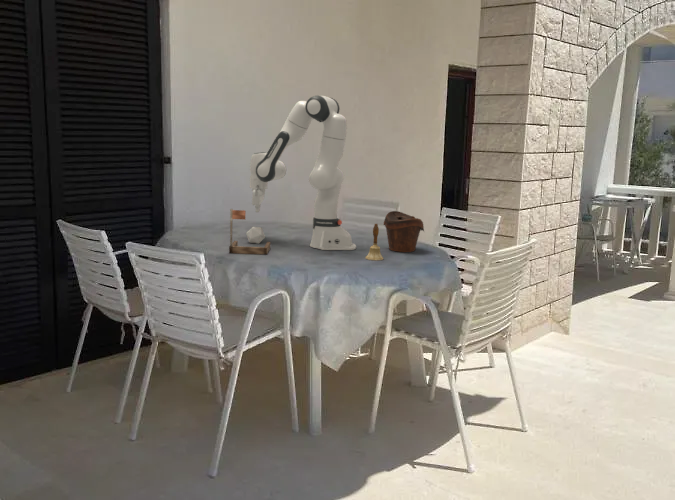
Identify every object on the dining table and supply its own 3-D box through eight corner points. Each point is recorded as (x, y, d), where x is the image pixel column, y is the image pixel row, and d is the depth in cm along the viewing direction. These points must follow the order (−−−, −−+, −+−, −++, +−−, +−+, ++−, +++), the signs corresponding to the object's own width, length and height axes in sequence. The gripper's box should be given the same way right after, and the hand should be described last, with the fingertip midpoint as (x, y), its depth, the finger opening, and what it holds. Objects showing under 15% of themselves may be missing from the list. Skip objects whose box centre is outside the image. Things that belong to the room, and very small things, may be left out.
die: (268, 243, 332) (262, 226, 336) (265, 238, 324) (259, 220, 327) (252, 249, 332) (246, 232, 335) (249, 243, 324) (243, 226, 327)
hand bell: (386, 260, 300) (388, 225, 297) (369, 260, 297) (371, 225, 294) (379, 256, 308) (380, 222, 305) (362, 257, 305) (363, 222, 302)
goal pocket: (270, 248, 318) (271, 206, 314) (266, 254, 303) (267, 210, 299) (234, 246, 318) (234, 204, 314) (229, 253, 302) (229, 209, 299)
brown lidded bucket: (418, 255, 314) (420, 217, 311) (377, 250, 321) (379, 213, 318) (426, 249, 331) (429, 212, 328) (387, 245, 338) (389, 209, 334)
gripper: (262, 187, 326) (261, 215, 328) (267, 183, 346) (266, 209, 348) (249, 186, 325) (248, 214, 328) (254, 182, 346) (253, 208, 348)
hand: (257, 212), depth 338 cm, fingers closed
